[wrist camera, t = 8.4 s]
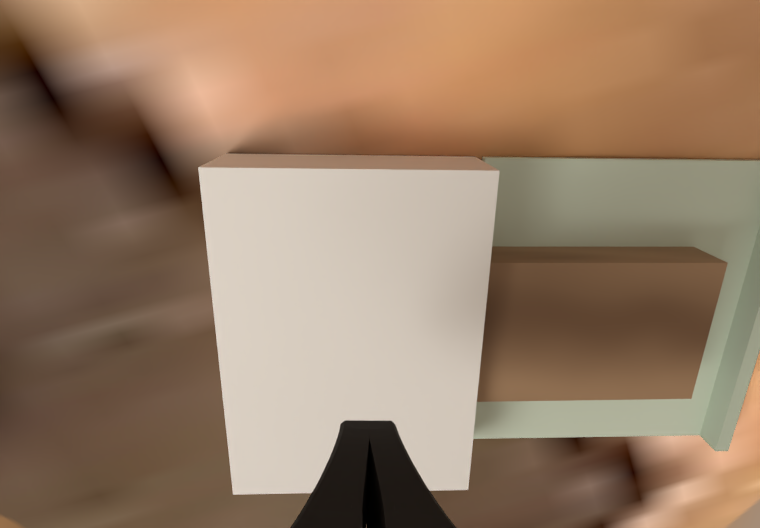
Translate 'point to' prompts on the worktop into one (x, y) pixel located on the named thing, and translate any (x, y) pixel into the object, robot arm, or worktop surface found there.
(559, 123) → the worktop surface
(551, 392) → the tile
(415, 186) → the white box
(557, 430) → the mat
